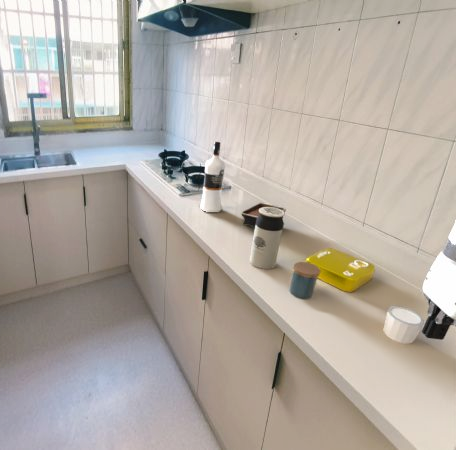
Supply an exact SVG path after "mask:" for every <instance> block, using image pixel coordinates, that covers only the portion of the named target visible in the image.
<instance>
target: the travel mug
mask: <svg viewBox="0 0 456 450" xmlns="http://www.w3.org/2000/svg"><path fill="white" fill-rule="evenodd" d="M259 212H260V215H259V217H258V218H257V219H256V225H255V228H254V232H253V236H252V237H253V238H252V243H251V248H250V249H251V250H250V255H249V263H250V264H251V265H252V266H254V267H256V268H258V269H263V270H270V269H273V268H275V267H276V264H277V260H278V254H279V248H280V245H281V239H282V234H283V230H284V224H285V222H284V216H285V214H286V211H285V212H284V211H282V210H280V209H278V208H273V207H262V208H260V209H259ZM282 218H283V219H282Z"/></svg>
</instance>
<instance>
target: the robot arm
mask: <svg viewBox="0 0 456 450" xmlns="http://www.w3.org/2000/svg"><path fill="white" fill-rule="evenodd" d="M422 291H423V295H424V298H426V299H425V300H427V301H428V308H427V312H426V313H427V315H428V316H427V319H426V320H425V322H424V325H423V327H422V328H421V333H422V334H423V335H424V337H425V338H426V339H432V340H442V341H443V340H444V339H445V337H446V336H447V333H448V331H449V329H450V328H451V326H454V327H456V220H454V223H453V225H452V229H451V230H450V233H449V235H448V237H447V239H446V242H445V244H444V246H443V249H442V250H441V251H440V253H439V254H438V255H437V257H436V258H435V260H434V262H433V263H432V264H431V267H430V269H429V271H428V272H427V274H426V275H425V279H424V281H423V284H422Z"/></svg>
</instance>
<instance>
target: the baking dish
mask: <svg viewBox="0 0 456 450" xmlns="http://www.w3.org/2000/svg"><path fill="white" fill-rule="evenodd" d="M262 207H273V208H278V209H280V210H282V211H284V212H285V213H286V210H287V208H286V207H282V206H278V205H274V204H270V203H265V202H258V203H256V204H254V205H253V206H251V207H249V208H247V209H244V210H243V211H241V212H240V215H241V216H242V218H243V222H242V225H243V226H251V227H252V228H254V229H255V225H256V219H257V218H258V217H259V215H260V212H259V209H260V208H262ZM282 219H283V220H284V217H283V218H282Z"/></svg>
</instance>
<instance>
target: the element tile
mask: <svg viewBox="0 0 456 450" xmlns="http://www.w3.org/2000/svg"><path fill="white" fill-rule="evenodd" d="M305 260H306V261H305V262H307V263H311V264H313V265H315V266H317V267H318V268H319V269H320V274H319V276H318V277H317V280H320V281H323V282H325V283H327V284H329V285H330V286H333V287H335V288H337V289H339V290H341V291H343V292H346V293H353V292H354V291H356V290H358V289H360V287H362V286H363V285H365V284H366V283H368V282H369V281H371V280H372V278H373V275H374V273H375V270H376V266H375V264H373V263H370V262H368V261H365V260H363V259H361V258H358V257H355V256H354V255H350V254H348V253H347V252H343V251H342V250H339V249H336V248H334V247H326V248H324V249H322V250H320V251H317V252H316V253H314V254H311V255H310V256H308V257H307V258H306V259H305Z"/></svg>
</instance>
